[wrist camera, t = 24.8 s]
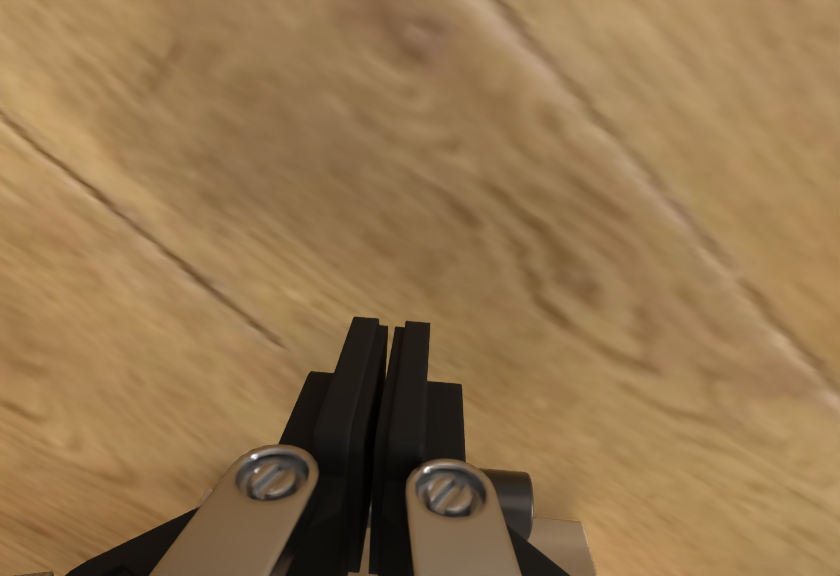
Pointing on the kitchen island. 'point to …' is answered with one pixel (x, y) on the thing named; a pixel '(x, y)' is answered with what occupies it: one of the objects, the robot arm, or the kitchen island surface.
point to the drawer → (521, 526)
